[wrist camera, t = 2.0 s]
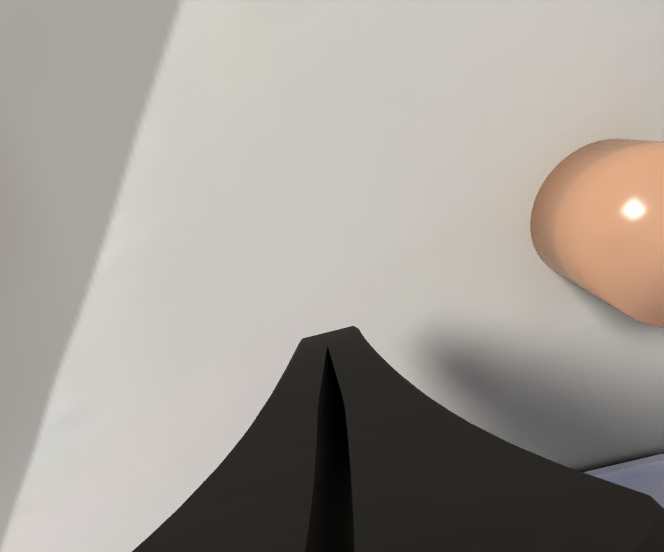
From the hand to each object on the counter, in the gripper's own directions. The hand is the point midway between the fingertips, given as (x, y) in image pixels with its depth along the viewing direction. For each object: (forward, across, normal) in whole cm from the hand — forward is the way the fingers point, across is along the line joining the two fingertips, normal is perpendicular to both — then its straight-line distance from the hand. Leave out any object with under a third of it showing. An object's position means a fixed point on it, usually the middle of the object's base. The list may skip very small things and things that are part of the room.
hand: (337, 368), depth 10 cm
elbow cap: (+6, -10, 0) cm, 12 cm away
